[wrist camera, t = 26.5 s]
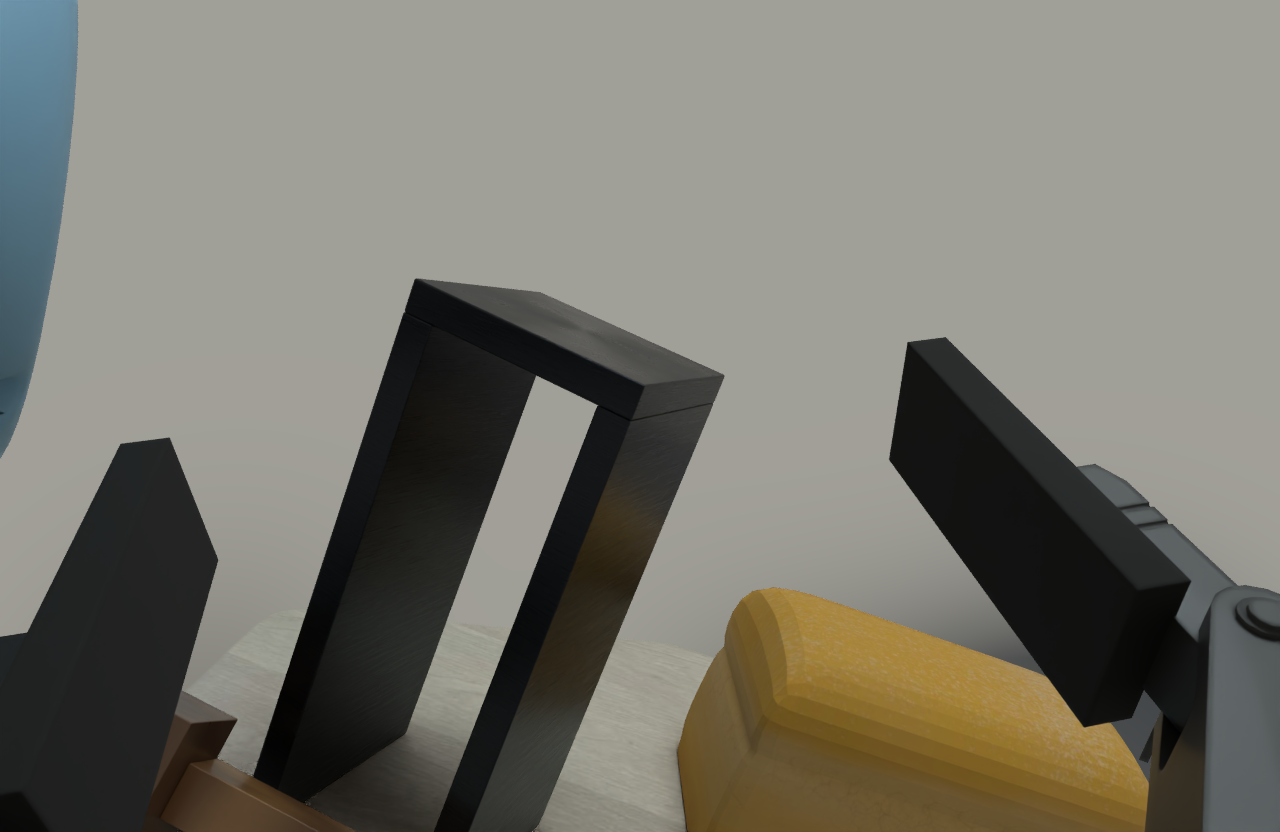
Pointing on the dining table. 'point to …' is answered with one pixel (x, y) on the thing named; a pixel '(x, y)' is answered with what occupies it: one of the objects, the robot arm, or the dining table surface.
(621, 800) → the dining table surface
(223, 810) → the mallet
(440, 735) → the dining table surface
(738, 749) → the bread
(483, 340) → the black arch block
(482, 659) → the dining table surface
